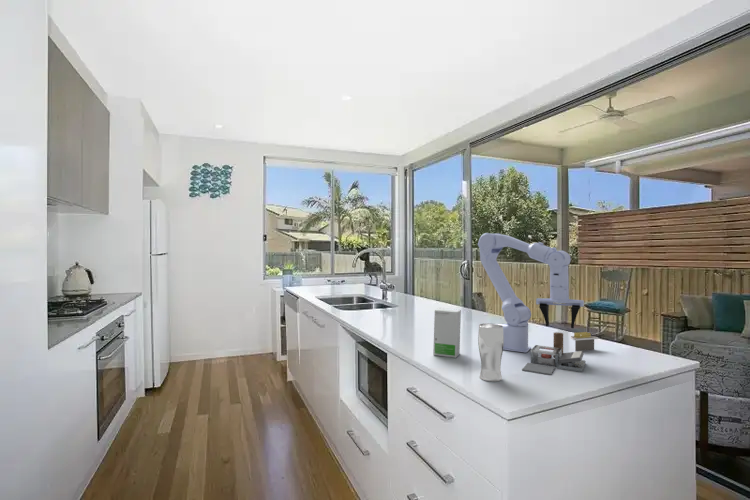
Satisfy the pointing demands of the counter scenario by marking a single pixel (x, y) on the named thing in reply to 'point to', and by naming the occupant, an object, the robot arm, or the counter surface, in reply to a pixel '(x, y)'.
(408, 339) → the counter surface
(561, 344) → the brown cylinder
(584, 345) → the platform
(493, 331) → the beer glass
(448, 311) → the skincare box
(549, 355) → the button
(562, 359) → the rocker
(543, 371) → the mat
